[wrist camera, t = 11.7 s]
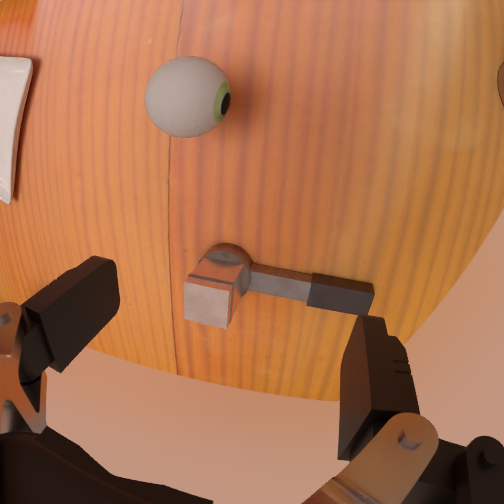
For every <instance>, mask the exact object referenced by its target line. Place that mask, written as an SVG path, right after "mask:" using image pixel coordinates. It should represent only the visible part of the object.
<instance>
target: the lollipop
mask: <svg viewBox="0 0 504 504" xmlns="http://www.w3.org/2000/svg"><path fill="white" fill-rule="evenodd" d="M230 100H231V89H230V84H229V81H228V79H227V77H226V75H225V74H224V72H223V71H222V70H221V69H220V68H219V67H218V66H217V65H216V64H215V63H213V62H211V61H209V60H207V59H205V58H201V57H196V56H184V57H179V58H175V59H173V60H170V61H168V62H166V63H165V64H163V65H162V66H161V67H160V68H159V69H158V70H156V72H155V73H154V74H153V75H152V77H151V79H150V80H149V82H148V85H147V88H146V92H145V106H146V110H147V113H148V116H149V117H150V119H151V121H152V122H153V124H154V125H156V126H157V127H158V128H159V129H160V130H162V131H163V132H165V133H167V134H169V135H172V136H175V137H181V138H190V137H197V136H200V135H203V134H205V133H207V132H209V131H211V130H212V129H213V128H215V127H216V126H217V125H218V124H219V123H220V122H221V121H222V119H223V118H224V117H225V115H226V113H227V111H228V108H229V105H230Z"/></svg>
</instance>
